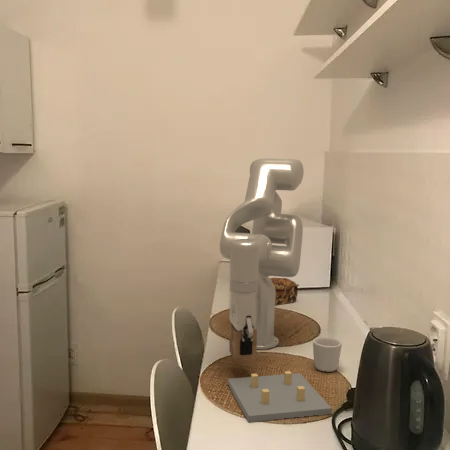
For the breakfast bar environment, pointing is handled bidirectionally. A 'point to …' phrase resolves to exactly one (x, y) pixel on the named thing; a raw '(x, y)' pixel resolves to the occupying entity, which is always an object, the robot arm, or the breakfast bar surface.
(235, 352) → the walnut block
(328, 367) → the cup
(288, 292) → the bread
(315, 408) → the base board
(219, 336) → the breakfast bar surface
